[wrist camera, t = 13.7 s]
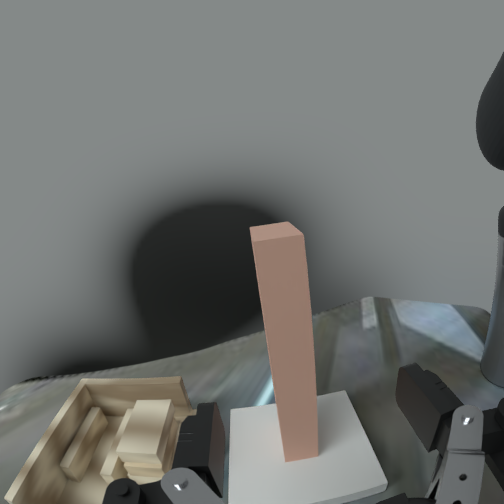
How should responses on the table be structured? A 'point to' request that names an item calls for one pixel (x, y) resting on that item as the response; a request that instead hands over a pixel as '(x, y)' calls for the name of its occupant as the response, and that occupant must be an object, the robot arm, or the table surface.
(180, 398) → the rack
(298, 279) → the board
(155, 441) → the offcut stack
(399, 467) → the table surface
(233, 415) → the mat
